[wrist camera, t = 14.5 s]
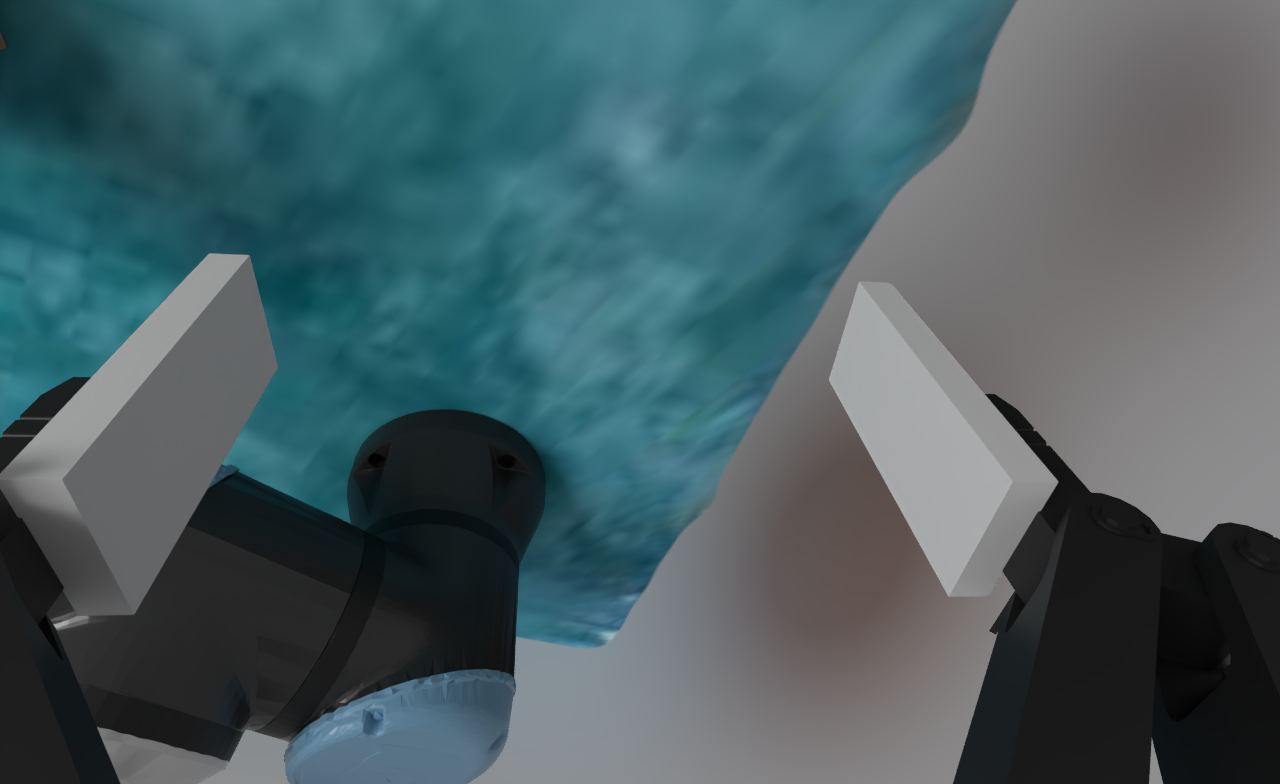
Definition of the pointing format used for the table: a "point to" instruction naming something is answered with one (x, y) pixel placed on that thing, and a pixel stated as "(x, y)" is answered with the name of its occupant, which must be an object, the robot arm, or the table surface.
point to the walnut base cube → (2, 43)
